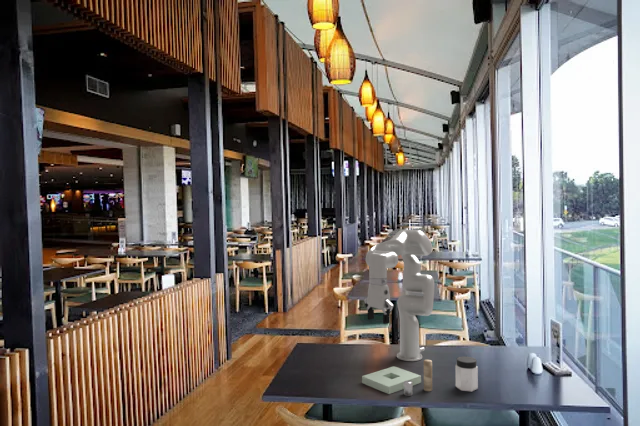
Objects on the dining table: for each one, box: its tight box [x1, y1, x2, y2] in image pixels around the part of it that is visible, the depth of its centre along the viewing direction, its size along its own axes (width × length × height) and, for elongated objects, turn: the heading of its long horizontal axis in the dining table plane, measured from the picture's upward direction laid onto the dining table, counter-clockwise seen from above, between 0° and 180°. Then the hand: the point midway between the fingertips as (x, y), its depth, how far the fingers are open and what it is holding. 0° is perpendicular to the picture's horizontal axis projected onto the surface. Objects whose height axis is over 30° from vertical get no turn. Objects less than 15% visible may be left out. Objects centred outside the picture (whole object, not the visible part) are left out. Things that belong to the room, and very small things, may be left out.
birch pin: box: [423, 359, 433, 392], centre depth 201 cm, size 4×4×12 cm
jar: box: [454, 355, 479, 392], centre depth 202 cm, size 9×8×12 cm
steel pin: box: [403, 381, 414, 397], centre depth 196 cm, size 4×4×5 cm
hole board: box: [361, 365, 422, 395], centre depth 209 cm, size 20×16×3 cm
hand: (378, 321), depth 208 cm, fingers open, 9 cm apart
